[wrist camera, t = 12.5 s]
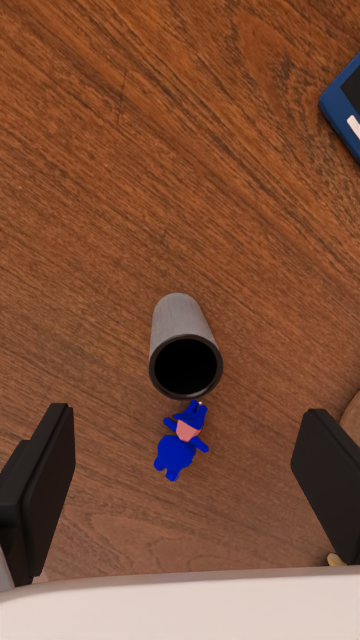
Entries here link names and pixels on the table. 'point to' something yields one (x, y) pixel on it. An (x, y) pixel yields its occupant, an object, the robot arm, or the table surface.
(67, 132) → the table surface
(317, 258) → the table surface
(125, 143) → the table surface
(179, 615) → the robot arm
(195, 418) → the figurine
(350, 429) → the bread
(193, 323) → the planter
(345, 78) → the cell phone
